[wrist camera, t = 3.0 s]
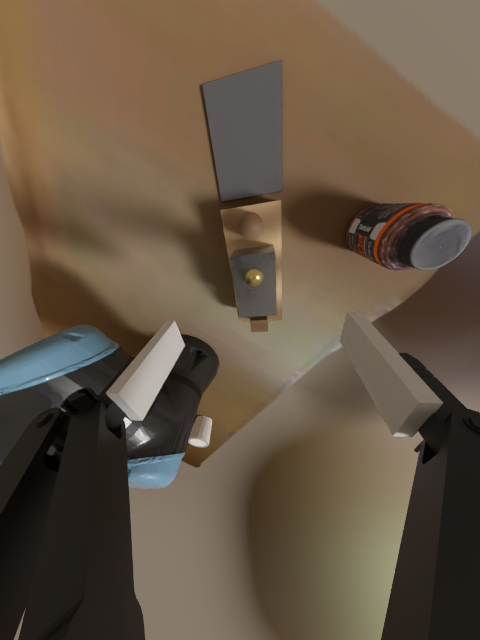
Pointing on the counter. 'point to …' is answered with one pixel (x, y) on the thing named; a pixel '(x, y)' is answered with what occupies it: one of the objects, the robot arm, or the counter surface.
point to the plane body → (256, 245)
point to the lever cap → (255, 280)
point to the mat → (247, 131)
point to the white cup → (201, 432)
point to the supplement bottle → (408, 235)
